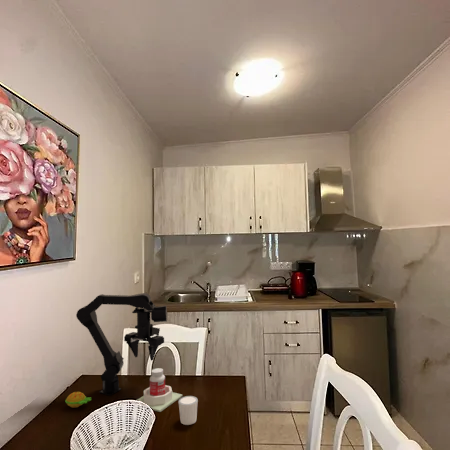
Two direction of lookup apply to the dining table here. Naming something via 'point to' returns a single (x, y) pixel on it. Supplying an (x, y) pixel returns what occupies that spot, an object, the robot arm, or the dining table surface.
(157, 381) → the pill bottle
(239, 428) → the dining table surface
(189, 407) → the shot glass
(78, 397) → the toy pineapple
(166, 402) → the octagonal tray
